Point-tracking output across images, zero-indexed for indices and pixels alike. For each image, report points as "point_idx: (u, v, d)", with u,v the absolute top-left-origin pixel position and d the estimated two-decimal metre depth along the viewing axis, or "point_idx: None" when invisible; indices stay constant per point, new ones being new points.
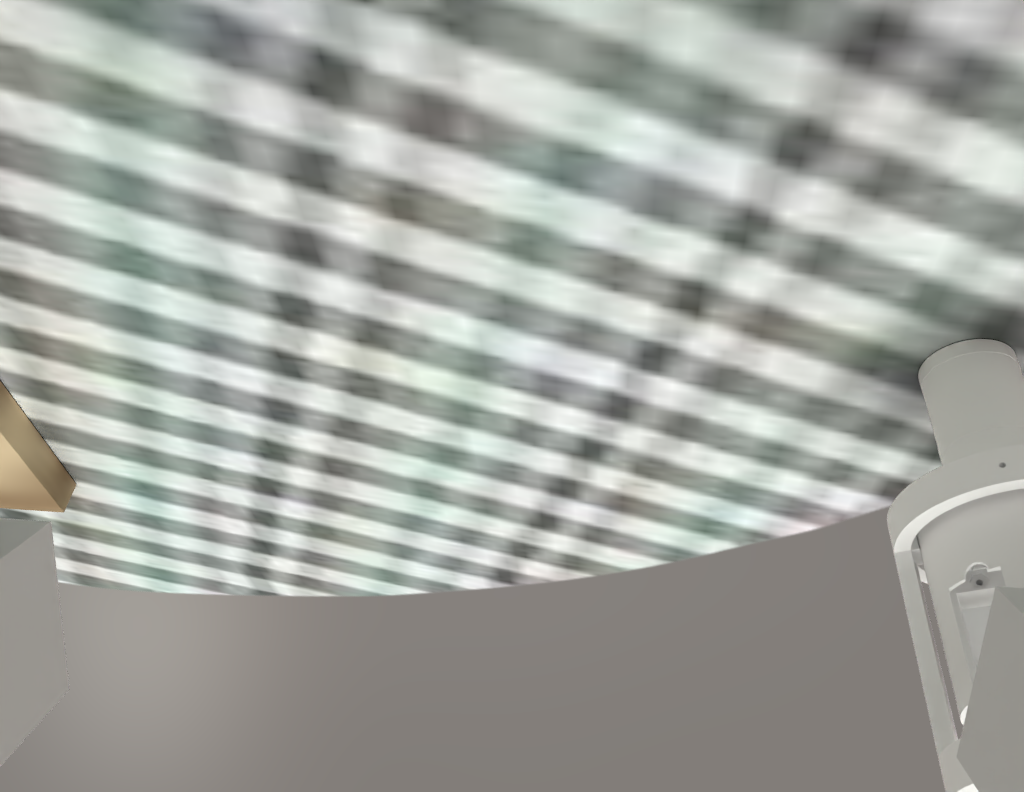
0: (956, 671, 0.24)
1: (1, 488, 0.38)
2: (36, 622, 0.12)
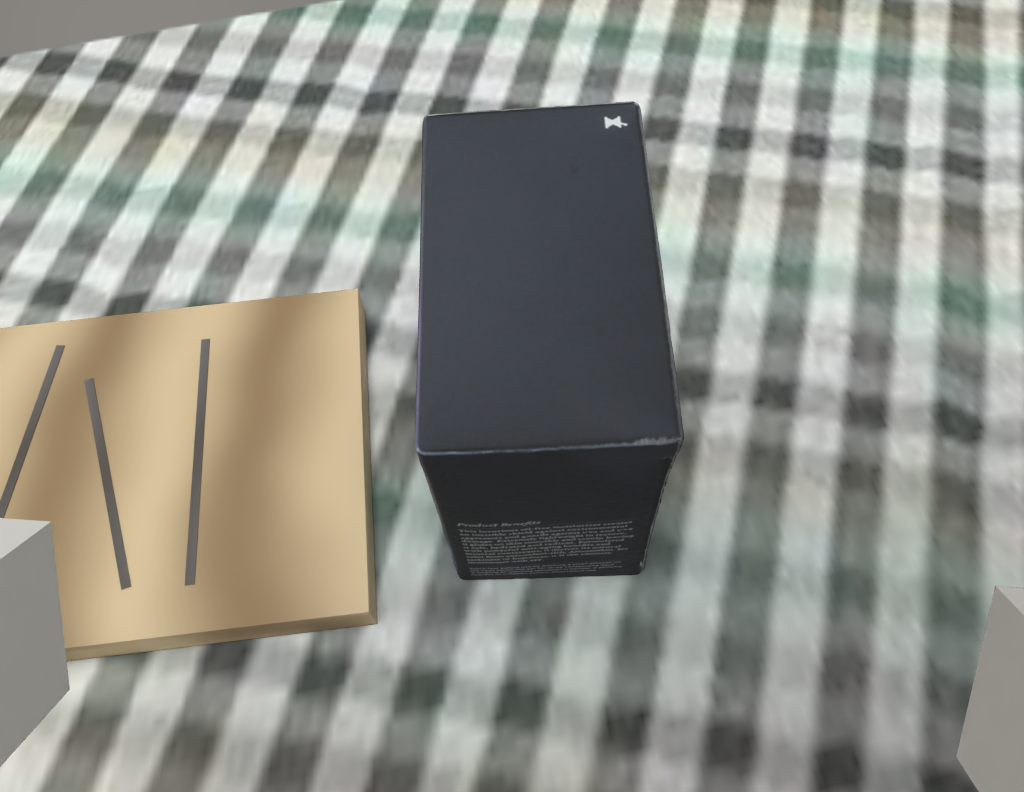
0: None
1: None
2: (36, 622, 0.12)
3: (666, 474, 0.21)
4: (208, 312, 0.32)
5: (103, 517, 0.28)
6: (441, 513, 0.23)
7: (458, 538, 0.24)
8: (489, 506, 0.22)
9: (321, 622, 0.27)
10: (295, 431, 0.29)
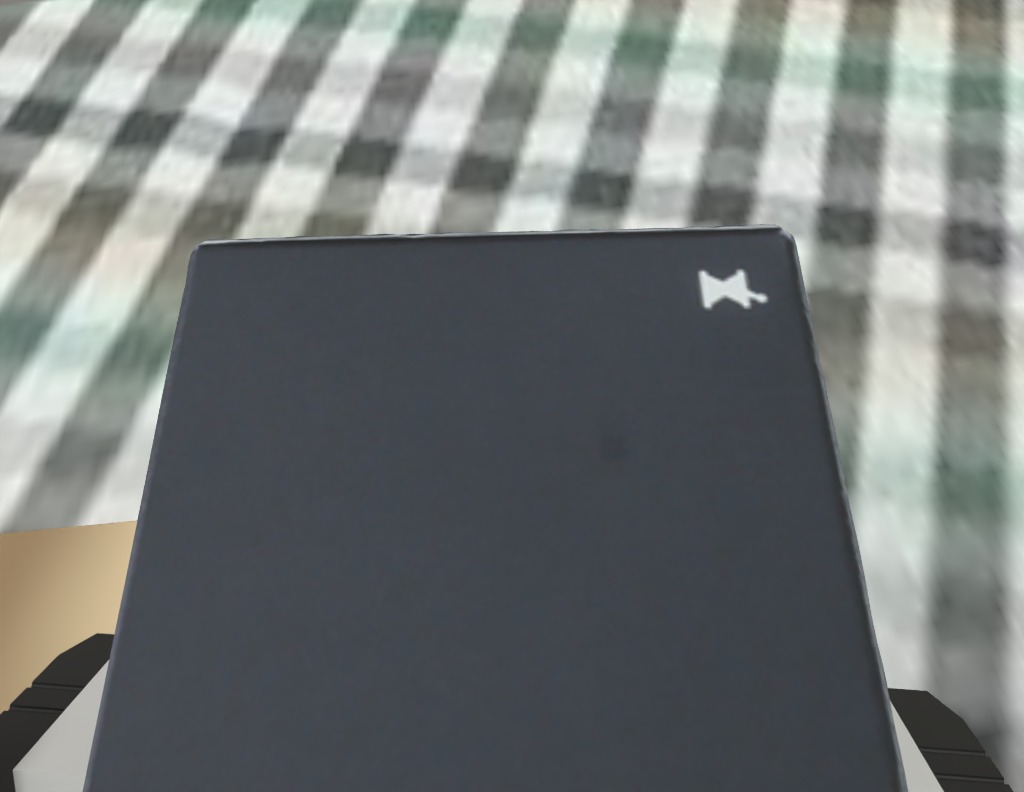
0: None
1: None
2: None
3: None
4: None
5: None
6: None
7: None
8: None
9: None
10: None
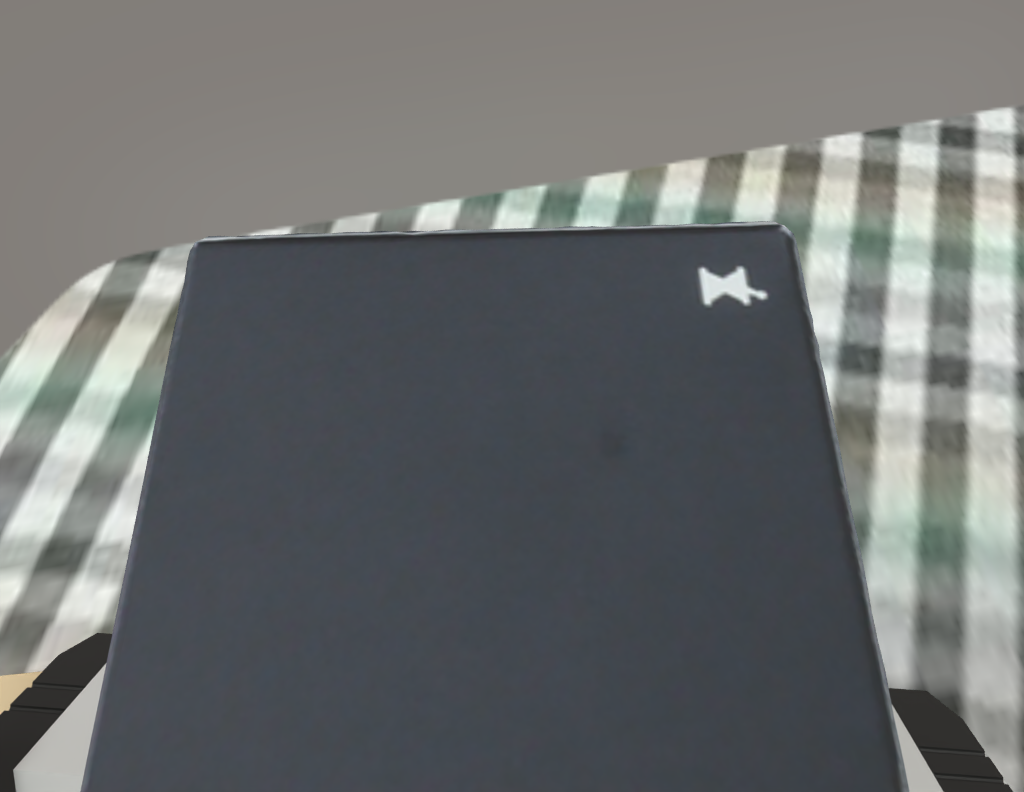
0: None
1: None
2: None
3: None
4: None
5: None
6: None
7: None
8: None
9: None
10: None
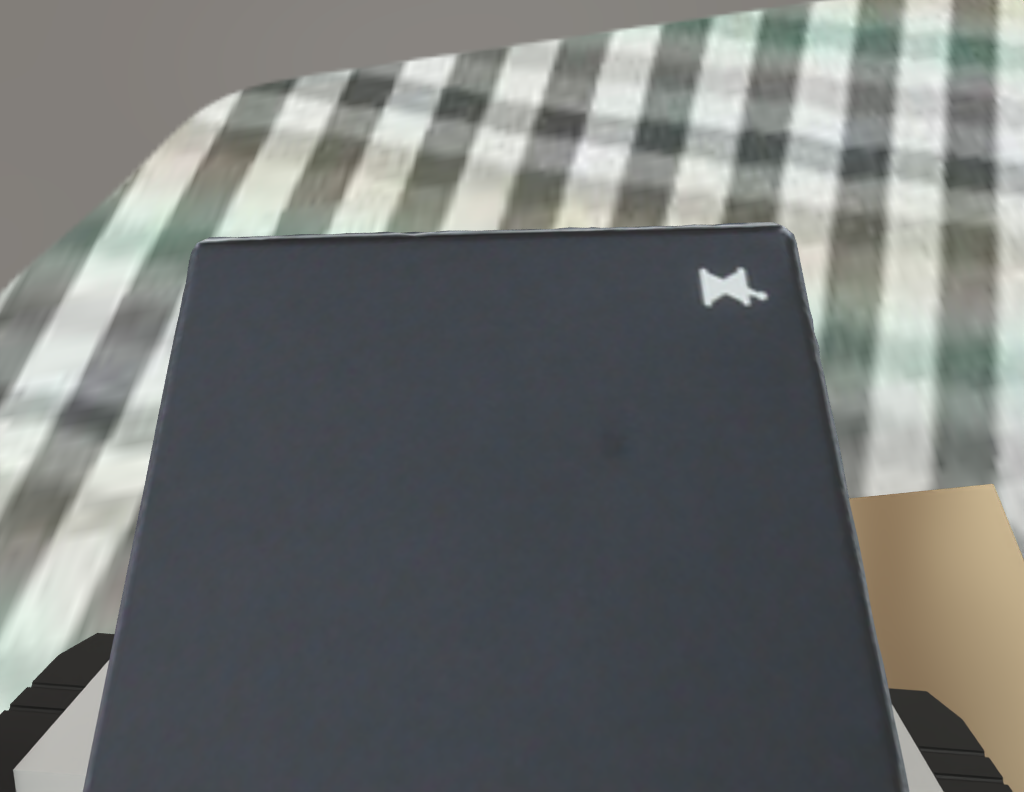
0: None
1: None
2: None
3: None
4: None
5: None
6: None
7: None
8: None
9: None
10: None
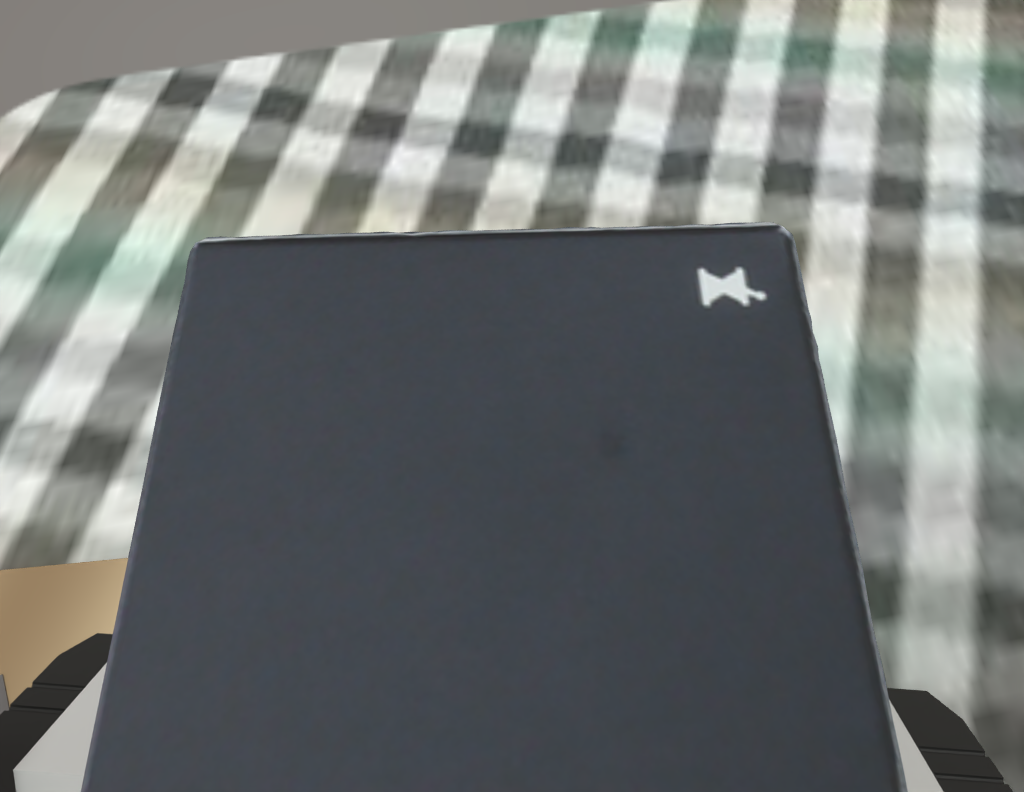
0: None
1: None
2: None
3: None
4: None
5: None
6: None
7: None
8: None
9: None
10: None
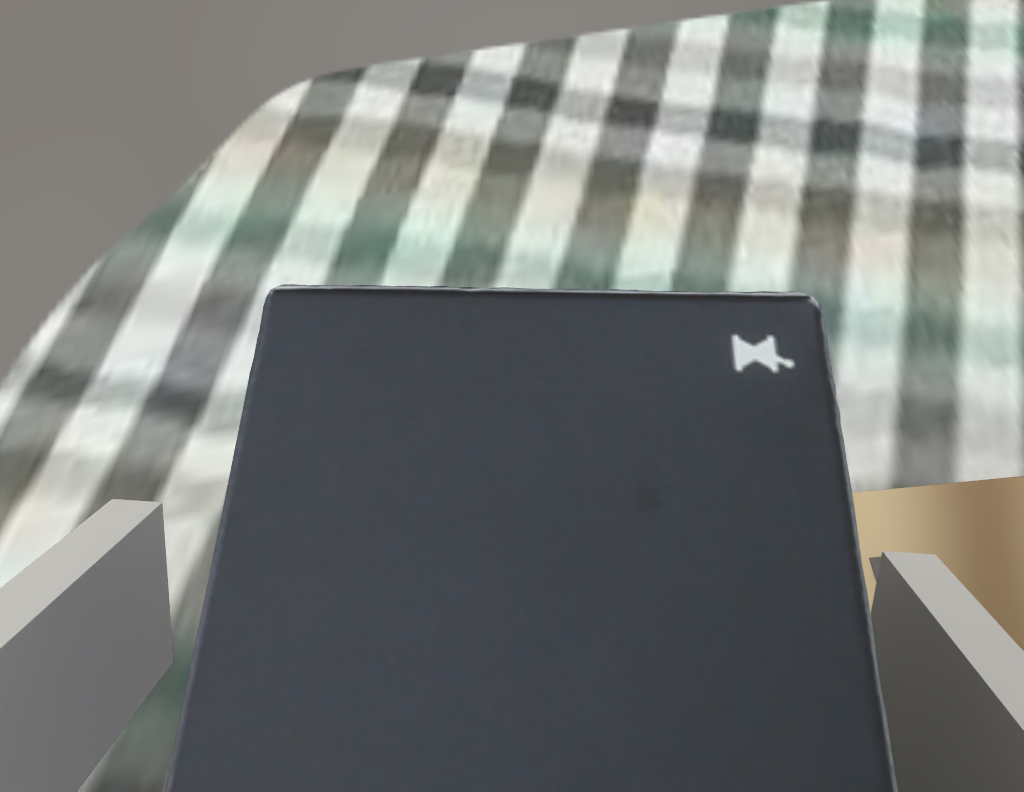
0: None
1: None
2: (150, 596, 0.13)
3: None
4: (860, 505, 0.19)
5: None
6: None
7: None
8: None
9: None
10: None
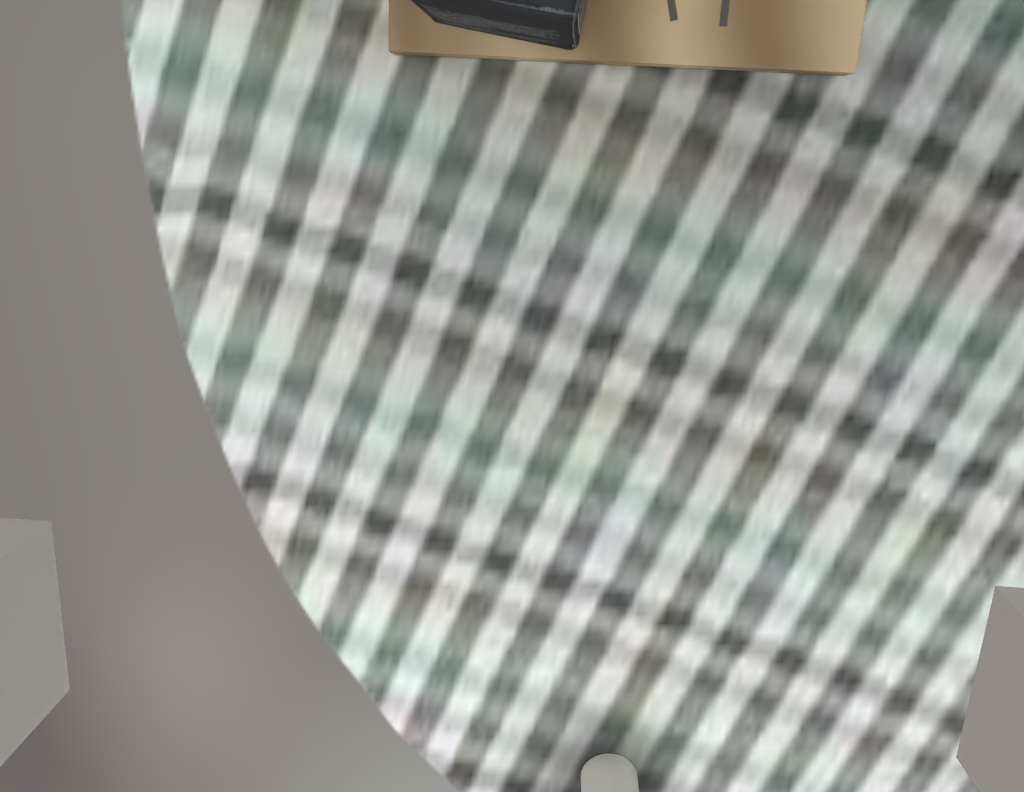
0: None
1: None
2: (36, 622, 0.12)
3: (572, 21, 0.27)
4: None
5: None
6: None
7: (423, 8, 0.31)
8: (441, 5, 0.29)
9: (812, 72, 0.36)
10: None
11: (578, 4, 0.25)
